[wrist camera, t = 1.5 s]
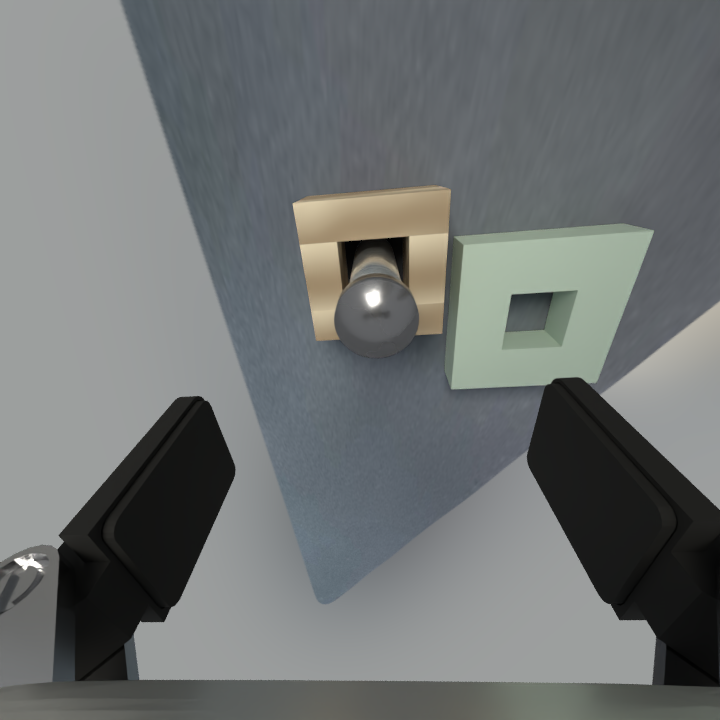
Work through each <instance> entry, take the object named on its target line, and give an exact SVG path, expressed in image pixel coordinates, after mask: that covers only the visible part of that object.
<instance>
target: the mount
mask: <svg viewBox="0 0 720 720" xmlns="http://www.w3.org/2000/svg"><path fill="white" fill-rule="evenodd" d="M450 196H451V189H448V188H444V187H441V186H437V185H430V186H419V187H407V188H396V189H385V190H374V191H362V192H351V193H340V194H329V195H317V196H307V197H305V198H303V199H301V200H299V201H297V202H295V203H293V208H294V214H295V220H296V225H297V231H298V237H299V243H300V249H301V254H302V260H303V266H304V272H305V278H306V283H307V289H308V295H309V301H310V307H311V313H312V318H313V324H314V330H315V336H316V341H322V340H339V337H338V335H337V333H336V330H335V325H334V314H335V310H336V306H337V302H338V299H339V296H340V294H341V293H342V291H343V290H344V288H345V287H346V286H347V285H348V284H349V281H348V271H347V262H346V252H345V242H344V241H354V240H367V239H380V238H393V237H403V283H404V284H405V285H406V286H407V287H408V288H409V289H410V291H411V292H412V294H413V296H414V299H415V302H416V305H417V308H418V312H419V325H418V330H417V332H416V335H427V334H442V327H443V311H444V294H445V278H446V262H447V245H448V229H449V213H450Z"/></svg>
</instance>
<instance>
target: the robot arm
mask: <svg viewBox="0 0 720 720" xmlns="http://www.w3.org/2000/svg"><path fill="white" fill-rule="evenodd" d="M527 462H528V465H529V468H530V470H531V472H532V474H533V475H534V477H535V479H536V481H537V483H538V485H539V486H540V488H541V490H542V492H543V494H544V495H545V497H546V499H547V501H548V503H549V505H550V507H551V508H552V510H553V512H554V514H555V516H556V517H557V519H558V521H559V523H560V525H561V527H562V529H563V530H564V532H565V534H566V536H567V538H568V540H569V541H570V543H571V545H572V547H573V549H574V551H575V552H576V554H577V556H578V558H579V560H580V562H581V563H582V565H583V567H584V569H585V571H586V572H587V574H588V576H589V578H590V580H591V582H592V584H593V585H594V587H595V589H596V591H597V592H598V594H599V596H600V597H601V598H602V600H603V601H604V602H606V603H608V604H611V606H612V608H613V609H614V611H615V613H616V615H617V616H618V618H619V620H647V622H648V624H649V625H650V627H651V628H652V630H653V632H654V633H655V635H656V647H655V659H654V670H653V671H654V672H653V682H652V685H638V684H597V683H591V684H590V683H520V682H518V683H517V682H515V683H514V682H433V681H431V682H430V681H303V680H139V674H138V666H137V658H136V650H135V642H134V632H135V630H136V628H137V625H138V624H139V622H140V621H141V622H164V621H165V619H166V617H167V615H168V612H169V610H170V608H171V607H173V606H175V605H176V603H177V602H178V601H179V600H180V597H181V596H182V593H183V591H184V589H185V587H186V584H187V582H188V580H189V578H190V575H191V573H192V571H193V568H194V566H195V564H196V562H197V560H198V558H199V555H200V553H201V551H202V549H203V546H204V544H205V542H206V540H207V537H208V535H209V533H210V530H211V528H212V526H213V524H214V522H215V520H216V517H217V515H218V513H219V511H220V508H221V506H222V504H223V501H224V499H225V497H226V495H227V493H228V490H229V488H230V486H231V484H232V481H233V479H234V476H235V465H234V462H233V460H232V457H231V454H230V452H229V450H228V447H227V445H226V442H225V440H224V437H223V435H222V432H221V430H220V427H219V425H218V422H217V420H216V417H215V415H214V412H213V410H212V407H211V405H210V403H209V402H208V401H205V400H204V399H203V398H202V397H200V396H193V397H179V398H177V399H176V400H175V401H174V402H173V403H172V404H171V406H170V407H169V408H168V409H167V410H166V411H165V413H164V414H163V415H162V416H161V417H160V418H159V420H158V421H157V422H156V423H155V424H154V425H153V427H152V428H151V429H150V430H149V431H148V432H147V434H146V435H145V436H144V437H143V438H142V439H141V440H140V442H139V443H138V444H137V445H136V447H134V449H133V450H132V451H131V452H130V453H129V454H128V456H127V457H126V458H125V459H124V460H123V461H122V462H121V464H120V465H119V466H118V467H117V468H116V469H115V471H114V472H113V473H112V474H111V475H110V476H109V478H108V479H107V480H106V481H105V482H104V483H103V484H102V486H101V487H100V488H99V489H98V490H97V491H96V493H95V494H94V495H93V496H92V497H91V498H90V500H89V501H88V502H87V503H86V504H85V505H84V507H83V508H82V509H81V510H80V511H79V512H78V514H77V515H76V516H75V517H74V518H73V519H72V520H71V522H70V523H69V524H68V525H67V526H66V527H65V529H64V530H63V531H62V532H61V533H60V535H59V536H60V538H61V539H62V540H63V541H64V543H63V544H62V545H61V546H60V547H59V548H58V550H57V549H56V548H54V547H53V546H50V545H40V546H35V547H30V548H27V549H25V550H23V551H20V552H18V553H16V554H14V555H12V556H11V557H9V558H7V559H5V560H4V561H2V562H0V720H720V510H719V509H718V508H717V507H716V506H715V505H714V504H713V503H712V502H710V500H709V499H708V498H707V497H706V496H704V495H703V494H702V493H701V492H700V491H699V490H698V489H697V488H696V487H695V486H694V485H693V484H692V483H691V482H690V481H689V480H688V479H687V478H686V477H684V475H683V474H681V473H680V472H679V471H678V470H677V469H676V468H675V467H674V466H673V465H672V464H671V463H670V462H669V461H668V460H667V459H666V458H665V457H664V456H663V455H661V453H660V452H659V451H657V450H656V449H655V448H654V447H653V446H652V445H651V444H650V443H649V442H648V441H647V440H646V439H645V438H644V437H643V436H642V435H641V434H640V433H639V432H637V431H636V429H634V428H633V427H632V426H631V425H630V424H629V423H628V422H627V421H626V420H625V419H624V418H623V417H622V416H621V415H620V414H619V413H618V412H617V411H616V410H615V409H614V408H613V407H611V406H610V405H609V404H608V403H607V402H606V401H605V400H604V399H603V398H602V397H601V396H600V395H599V394H598V393H597V392H596V391H595V390H594V389H593V388H592V387H591V386H590V385H588V384H587V383H586V382H585V381H584V380H583V379H582V378H579V377H570V378H556V379H554V380H553V381H552V382H551V384H547V385H546V387H545V389H544V393H543V397H542V400H541V404H540V408H539V412H538V416H537V419H536V423H535V427H534V431H533V435H532V438H531V442H530V446H529V450H528V454H527Z"/></svg>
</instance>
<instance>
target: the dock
mask: <svg viewBox="0 0 720 720" xmlns="http://www.w3.org/2000/svg"><path fill="white" fill-rule="evenodd" d="M653 233H654V230H650V229H645V228H641V227H637V226H632V225H628V224H623V223H621V224H608V225H595V226H582V227H569V228H557V229H544V230H531V231H518V232H505V233H492V234H479V235H466V236H454V239H453V254H452V268H451V282H450V296H449V311H448V325H447V339H446V353H445V368H444V371H445V374H446V376H447V379H448V382H449V385H450V388H451V389H472V388H494V387H516V386H538V385H547V384H551V382H552V381H553V380H554V379H556V378H570V377H579V378H582V379H583V380H584V381H585V382H586V383H597V380H598V378H599V375H600V373H601V370H602V367H603V365H604V362H605V359H606V357H607V354H608V351H609V349H610V346H611V344H612V341H613V338H614V336H615V333H616V330H617V328H618V325H619V323H620V320H621V317H622V315H623V312H624V309H625V307H626V304H627V302H628V299H629V296H630V294H631V291H632V288H633V286H634V283H635V280H636V278H637V275H638V273H639V270H640V267H641V265H642V262H643V259H644V257H645V254H646V252H647V249H648V246H649V244H650V241H651V238H652V236H653ZM543 292H553V296H552V300H551V304H550V308H549V312H548V316H547V320H546V324H545V328H544V330H534V331H516V332H505V328H506V322H507V317H508V311H509V305H510V300H511V295H512V294H527V293H543Z"/></svg>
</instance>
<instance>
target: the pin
mask: <svg viewBox="0 0 720 720" xmlns="http://www.w3.org/2000/svg"><path fill="white" fill-rule="evenodd" d="M334 325H335V330H336V333H337V335H338V337H339V339H340V340H341V342H342V343H343V344H344V345H345V346H346V347H347V348H348V349H349V350H351V351H352V352H354V353H356V354H358V355H361V356H364V357H368V358H384V357H389V356H392V355H394V354H396V353H398V352H400V351H402V350H403V349H404V348H405V347H407V346H408V345H409V344H410V342H411V341H412V340H413V338H414V336H415V335H416V332H417V330H418V325H419V312H418V308H417V305H416V302H415V299H414V296H413V294H412V292H411V291H410V289H409V288H408V287H407V286H406V285H405V284H404V283H403V282H402V281H401V279H400V275H399V271H398V268H397V264H396V260H395V256H394V252H393V249H392V246H391V244H390V243H389V242H388V241H387V240H386V239H384V238H380V239H367V240H362V241H361V242H360V243H359V244H358V246H357V248H356V252H355V257H354V262H353V267H352V273H351V278H350V283H349V284H348V285H347V286H346V287H345V288H344V290H343V291H342V293H341V294H340V296H339V299H338V302H337V306H336V310H335V314H334Z"/></svg>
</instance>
